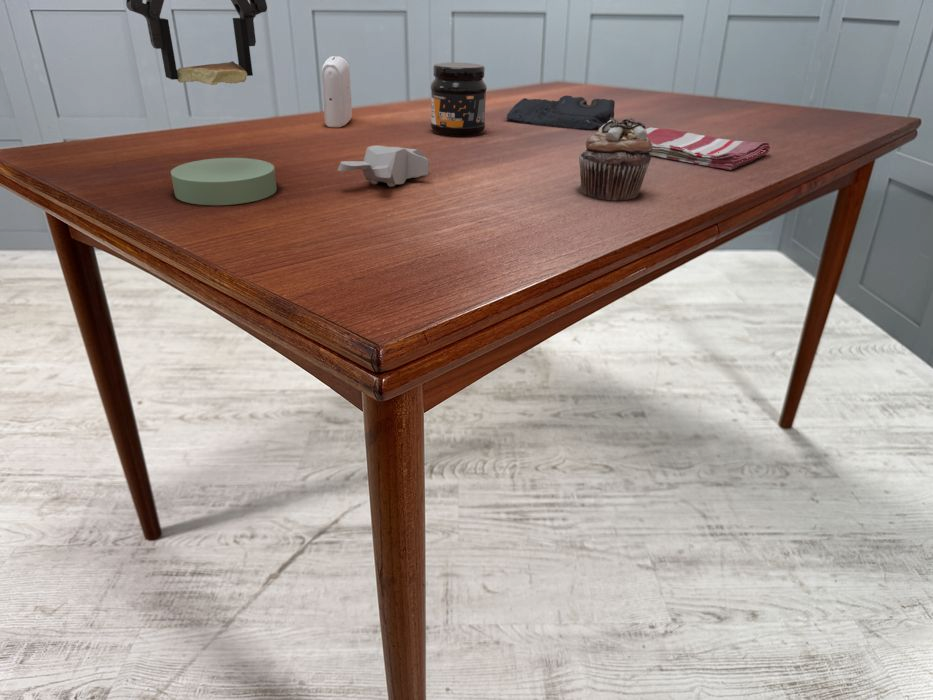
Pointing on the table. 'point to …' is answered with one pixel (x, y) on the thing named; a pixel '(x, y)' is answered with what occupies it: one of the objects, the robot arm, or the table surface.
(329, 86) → the photo printer
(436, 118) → the supplement container
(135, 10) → the robot arm
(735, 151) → the dish towel
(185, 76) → the shard
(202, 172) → the disc
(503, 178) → the table surface
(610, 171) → the cupcake
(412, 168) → the grey faceted piece
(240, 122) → the table surface
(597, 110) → the dark slate chunk
